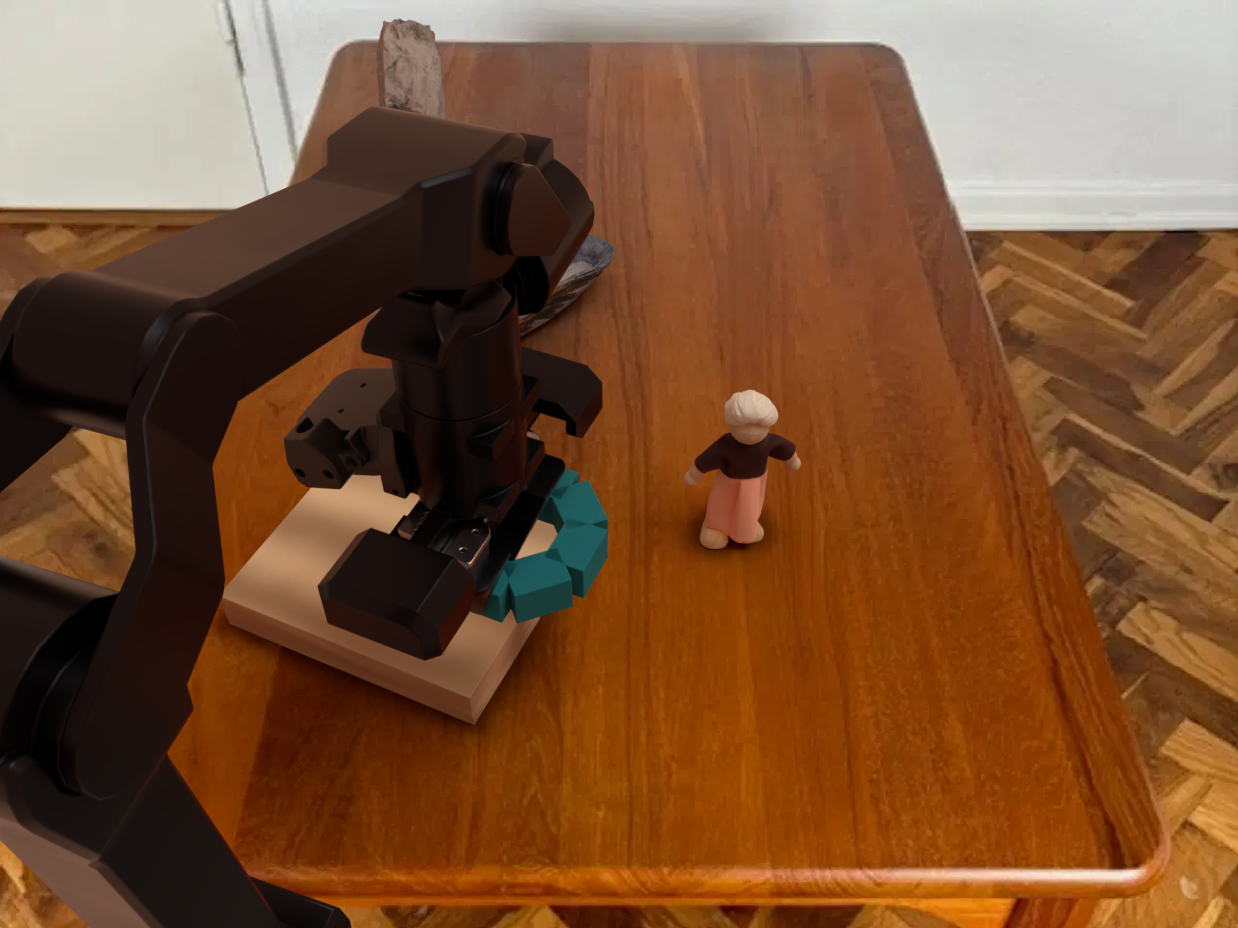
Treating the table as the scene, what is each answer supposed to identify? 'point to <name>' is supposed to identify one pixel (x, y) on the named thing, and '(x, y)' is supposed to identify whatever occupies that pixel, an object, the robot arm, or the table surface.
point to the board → (294, 617)
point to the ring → (556, 557)
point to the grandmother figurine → (740, 470)
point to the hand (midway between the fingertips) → (485, 591)
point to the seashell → (573, 281)
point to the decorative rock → (410, 69)
